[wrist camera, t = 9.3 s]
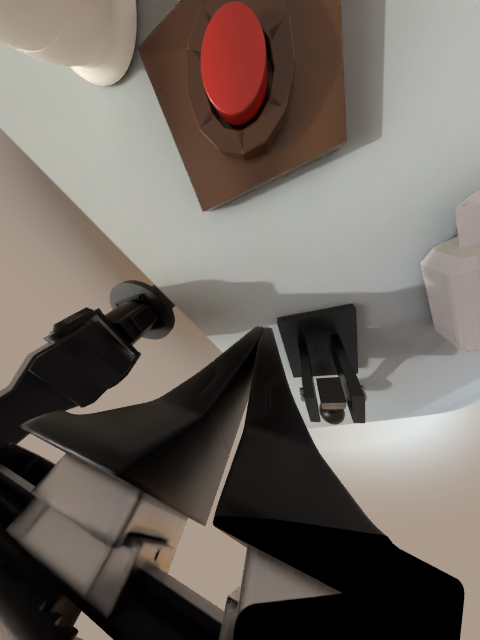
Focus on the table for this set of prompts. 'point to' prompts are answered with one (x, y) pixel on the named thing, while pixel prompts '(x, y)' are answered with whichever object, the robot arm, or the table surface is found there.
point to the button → (235, 63)
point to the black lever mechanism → (325, 354)
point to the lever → (331, 400)
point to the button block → (278, 105)
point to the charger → (457, 279)
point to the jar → (74, 34)
